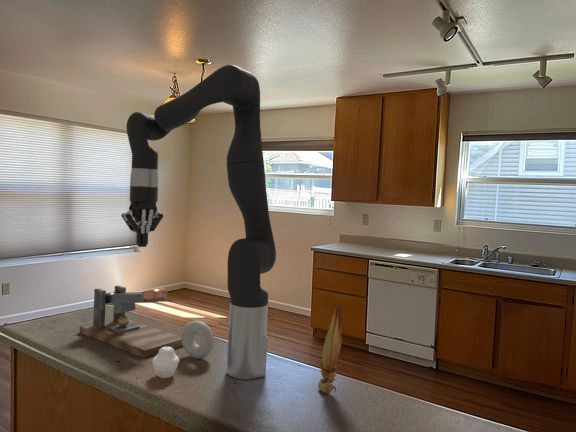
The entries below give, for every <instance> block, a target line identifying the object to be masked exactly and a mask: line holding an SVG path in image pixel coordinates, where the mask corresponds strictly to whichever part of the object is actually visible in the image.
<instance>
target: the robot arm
mask: <svg viewBox="0 0 576 432" xmlns="http://www.w3.org/2000/svg"><path fill="white" fill-rule="evenodd" d="M219 103H225V104H227V105H229V106H232V110H233V115H234V133H233V137H232V139H231V142H230V145H229V148H228V151H227V155H226V170H227V171H226V173H227V182H228V188H229V190H230V192H231V193H230V194H231V195H232V197H233V199H234V200H235V203H236V205H237V207H238V208H239V211H240V212H241V213H240V214H241V215H242V218H243V219H242V220H243V223H244V230H245V231H244V232H245V237H244V238H239V239H236V240H235V241H234V242H233V243H232V244H231V245H230V247H229V250H228V253H227V254H228V255H227V291H228V294H229V297H230V300H229V317H228V318H229V319H228V338H227V339H228V340H227V354H226V355H227V359H226V361H227V362H226V373H227V375H228V376H230V377H231V378H233V379H238V380H254V379H257V378H261V377H262V378H263V377H266V376H267V375H266V374H267V357H268V356H267V355H268V341H269V340H268V339H269V338H268V335H267V328H268V309H269V307H268V306H269V292H267V290H265V289H263V288H262V287H261V275H262V274H266V273H268V272H270V271H271V270H273V267H275V266H274V265H275V263H276V260H277V250H276V243H275V239H274V234H273V230H272V225H271V219H270V213H269V203H268V194H267V185H266V184H267V183H266V172H265V161H264V154H263V152H264V151H263V141H262V131H261V87H260V83H259V80H258V79H257V77H256V76H255V75H254V74H253V73H252V72H250V71H248V70H246V69H244V68H242V67H240V66H237V65H234V64H226V65H223V66H221V67H219V68H218V69H217V70H215V71H214V72H212V73H210V75H208V76H207V77H206V78H205V79H202V80H201V81H200V82H199V83H197V84H196V85H194V87H192V88H191V89H189V90H188V91H186V92H185V93H183V94H181V95H179V96H178V97H175V98H173V99H171V100H169V101H167V102H165V103H162V104H161V105H159V106H157V107H156V108H155V110H154V115H152V114H148V113H144V112H141V111H140V112H139V111H135V112H133V113H131V114H130V115H129V117H128V119H127V122H126V126H125V127H126V134H127V138H128V144H129V147H130V151H131V171H130V180H129V201H130V205H129V207H128V210H127V211H126V213H125V212H124V213H122V214H121V218H122V219H123V221H124V222H125V224H126V225H127V227H128V228H129V230H130V231H131V232H134V233H135V234H136V245H137V247H138V248H146V247H147V246H148V244H149V234H150V233H151V232H154V231H155V230H156V228H157V227H158V225H159V224H160V222H161V221H162V220H163V218H164V214H163V213H160V212H159V211H158V207H157V202H158V199H159V198H158V195H159V170H158V169H159V168H158V167H159V153H158V151H157V150H156V149H154V148H152V147H151V146H150V145H149V142H148V141H151V142H152V141H153V142H154V141H159V140H162V139H164V138H165V137H166V136H168V134H170V133H171V132H172V131H173V130H174V129H177V128H180V127H182V126H184V125H186V124H188V123H190V122H191V121H193V120H194V119H195V118H196V117H197V116H198V114H199V113H200V112H201V111H202V110H203V109H205V108H207V107H209V106H211V105H215V104H219Z"/></svg>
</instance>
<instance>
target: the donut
mask: <svg viewBox="0 0 576 432" xmlns="http://www.w3.org/2000/svg"><path fill="white" fill-rule="evenodd" d="M195 334H196V335H198V336H199V338H200V345H199V344H197V342H196V340H195ZM181 338H182V344H183V346H182V348H183V349H184V351H185V353H186V354H188V356H190V357H191V358H193V359H197V360H201V359H204V358H207V357H208V356H209V355H210V354H211V353H212V351H213V349H214V344H215V336H214V333H213V331H212V329H211V327H210V326H209V325H208V324H207V323H206V322H204V321H201V320H192V321H189V322H188V323H187V324H185V325H184V327H183V330H182V331H181Z"/></svg>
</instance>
